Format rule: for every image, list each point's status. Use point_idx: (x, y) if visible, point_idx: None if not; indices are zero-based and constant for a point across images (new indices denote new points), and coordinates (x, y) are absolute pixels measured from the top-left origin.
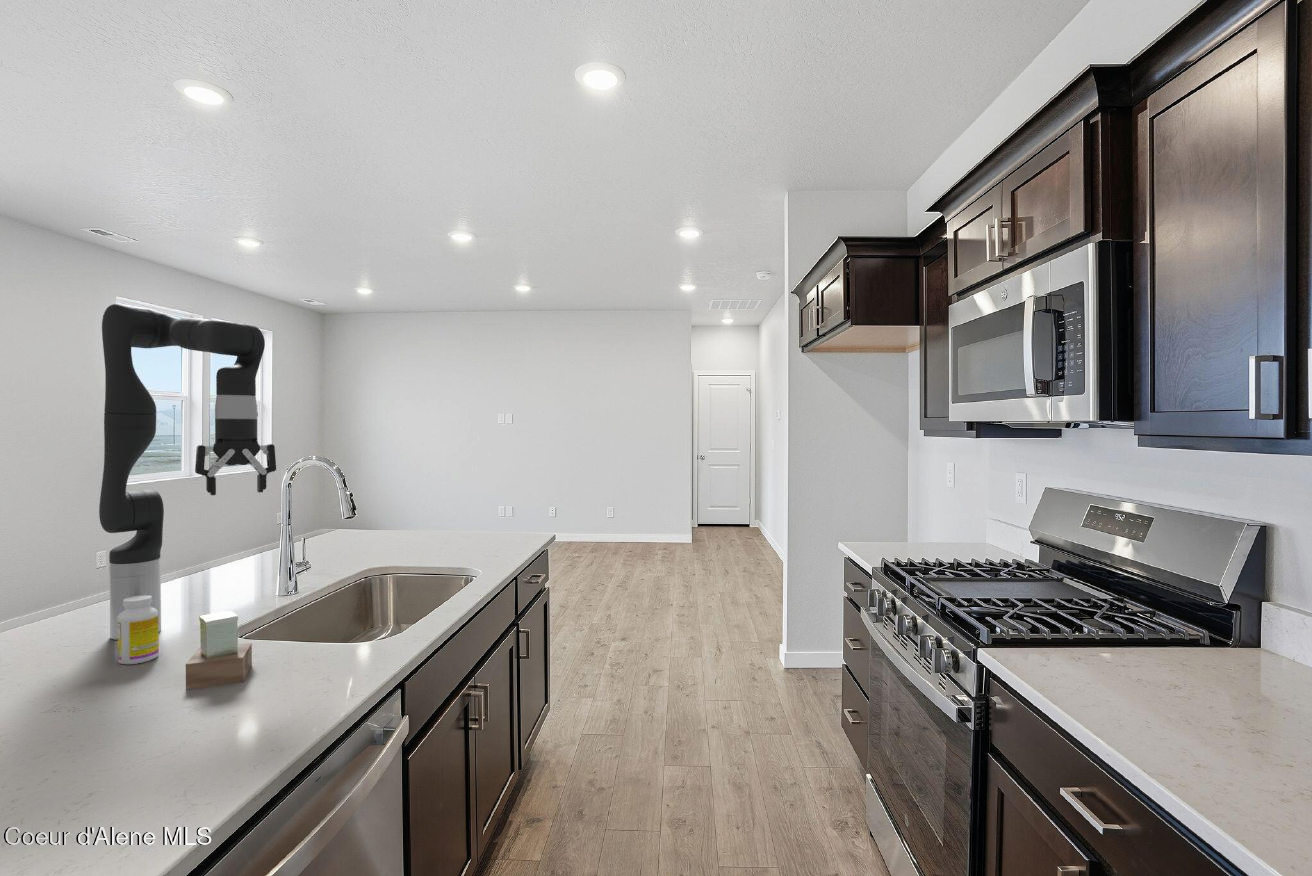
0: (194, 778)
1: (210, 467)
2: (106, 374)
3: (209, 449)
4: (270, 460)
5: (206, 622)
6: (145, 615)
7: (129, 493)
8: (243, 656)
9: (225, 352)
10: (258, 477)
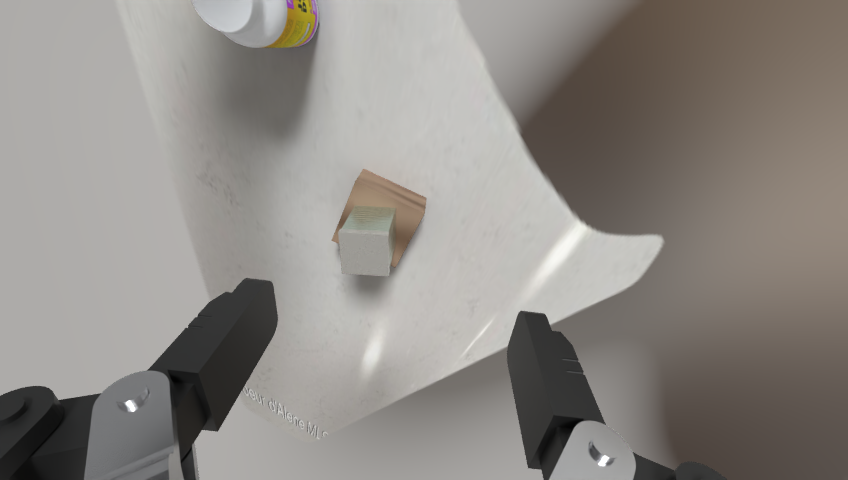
0: (326, 391)
1: (93, 474)
2: None
3: None
4: None
5: (343, 273)
6: (259, 45)
7: None
8: (397, 263)
9: None
10: (533, 427)
